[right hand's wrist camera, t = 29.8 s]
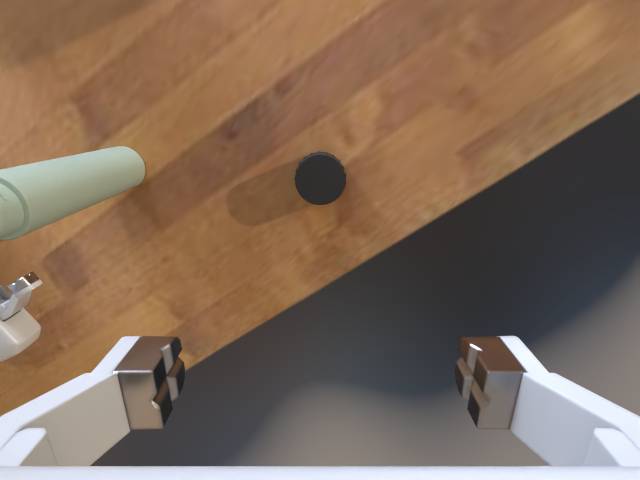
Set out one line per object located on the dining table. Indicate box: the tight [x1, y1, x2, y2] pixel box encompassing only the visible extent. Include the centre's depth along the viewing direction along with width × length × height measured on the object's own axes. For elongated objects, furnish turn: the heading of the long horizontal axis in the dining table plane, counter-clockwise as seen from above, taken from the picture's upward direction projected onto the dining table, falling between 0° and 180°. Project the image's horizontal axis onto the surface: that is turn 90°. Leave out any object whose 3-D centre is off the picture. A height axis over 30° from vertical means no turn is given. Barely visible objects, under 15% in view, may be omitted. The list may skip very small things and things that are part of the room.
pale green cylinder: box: [0, 146, 145, 240], centre depth 29 cm, size 4×4×18 cm
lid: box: [295, 151, 346, 205], centre depth 37 cm, size 5×5×2 cm
